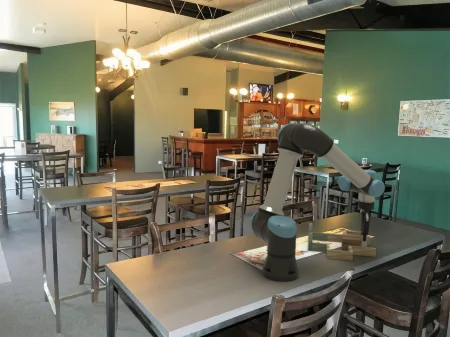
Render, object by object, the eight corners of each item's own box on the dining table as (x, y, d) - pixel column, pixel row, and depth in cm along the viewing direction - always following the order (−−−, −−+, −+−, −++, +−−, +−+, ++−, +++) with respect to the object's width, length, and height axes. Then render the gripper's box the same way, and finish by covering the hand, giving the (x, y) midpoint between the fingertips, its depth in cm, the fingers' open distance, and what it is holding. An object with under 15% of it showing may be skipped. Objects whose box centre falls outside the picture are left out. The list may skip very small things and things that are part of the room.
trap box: (378, 263, 163) (380, 244, 162) (307, 256, 170) (308, 238, 169) (366, 239, 198) (367, 223, 197) (308, 234, 205) (309, 218, 204)
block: (360, 252, 177) (361, 240, 177) (341, 250, 180) (342, 238, 179) (359, 246, 186) (360, 235, 185) (341, 244, 188) (342, 233, 188)
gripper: (376, 204, 171) (373, 251, 174) (372, 198, 184) (369, 243, 187) (360, 203, 173) (357, 250, 176) (356, 198, 185) (354, 242, 188)
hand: (363, 246), depth 181 cm, fingers closed
